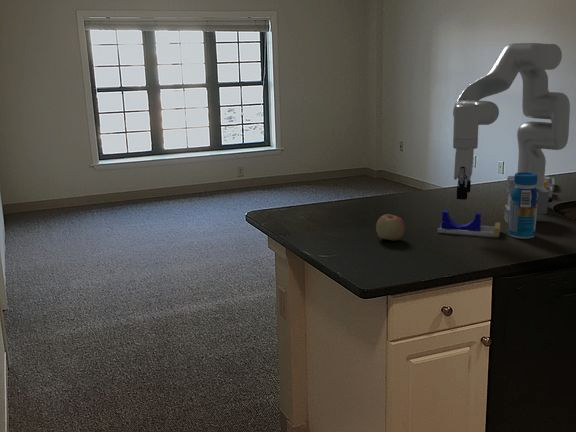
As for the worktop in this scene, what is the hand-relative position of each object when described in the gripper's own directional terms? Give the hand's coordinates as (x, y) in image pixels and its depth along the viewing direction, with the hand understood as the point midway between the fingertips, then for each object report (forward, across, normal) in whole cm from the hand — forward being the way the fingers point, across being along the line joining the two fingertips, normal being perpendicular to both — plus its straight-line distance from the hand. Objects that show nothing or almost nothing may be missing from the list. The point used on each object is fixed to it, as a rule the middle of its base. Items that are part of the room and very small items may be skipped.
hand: (463, 195), depth 206 cm
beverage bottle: (+12, 0, +18) cm, 22 cm away
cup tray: (+14, -77, +22) cm, 81 cm away
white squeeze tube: (+12, +1, +2) cm, 12 cm away
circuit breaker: (+13, -19, +20) cm, 30 cm away
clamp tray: (+14, -61, +20) cm, 66 cm away
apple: (+12, +17, -20) cm, 29 cm away
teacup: (+15, -76, +23) cm, 80 cm away
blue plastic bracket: (+12, 0, 0) cm, 12 cm away
